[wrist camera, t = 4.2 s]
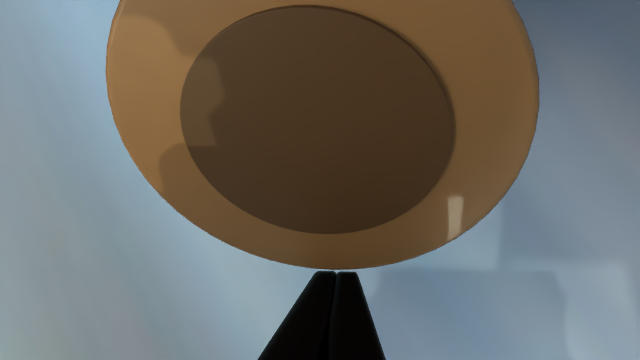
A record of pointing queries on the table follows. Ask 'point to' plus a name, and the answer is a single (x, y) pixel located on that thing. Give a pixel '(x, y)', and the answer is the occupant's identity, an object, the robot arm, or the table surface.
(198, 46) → the paper towel roll
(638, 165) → the table surface
